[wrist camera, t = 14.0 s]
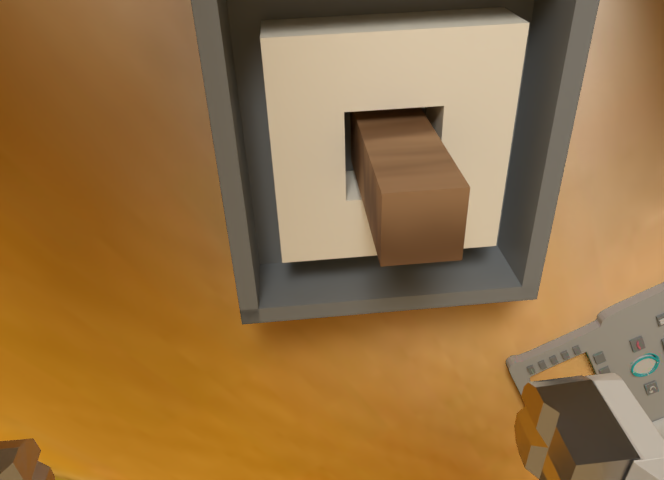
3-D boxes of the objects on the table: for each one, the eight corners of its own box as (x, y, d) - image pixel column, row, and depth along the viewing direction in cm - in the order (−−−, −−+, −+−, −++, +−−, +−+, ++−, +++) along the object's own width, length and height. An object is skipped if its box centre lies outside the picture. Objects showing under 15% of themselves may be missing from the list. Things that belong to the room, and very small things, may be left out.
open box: (198, -59, 31) (183, -44, 26) (559, -76, 32) (613, -65, 27) (245, 270, 43) (242, 324, 38) (506, 250, 44) (536, 299, 39)
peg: (350, 101, 35) (381, 193, 25) (413, 97, 36) (470, 187, 26) (351, 160, 38) (380, 266, 28) (411, 155, 38) (462, 260, 28)
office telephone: (769, 428, 57) (576, 499, 61) (750, 407, 59) (565, 477, 63) (747, 269, 44) (507, 372, 48) (724, 250, 47) (496, 350, 50)
